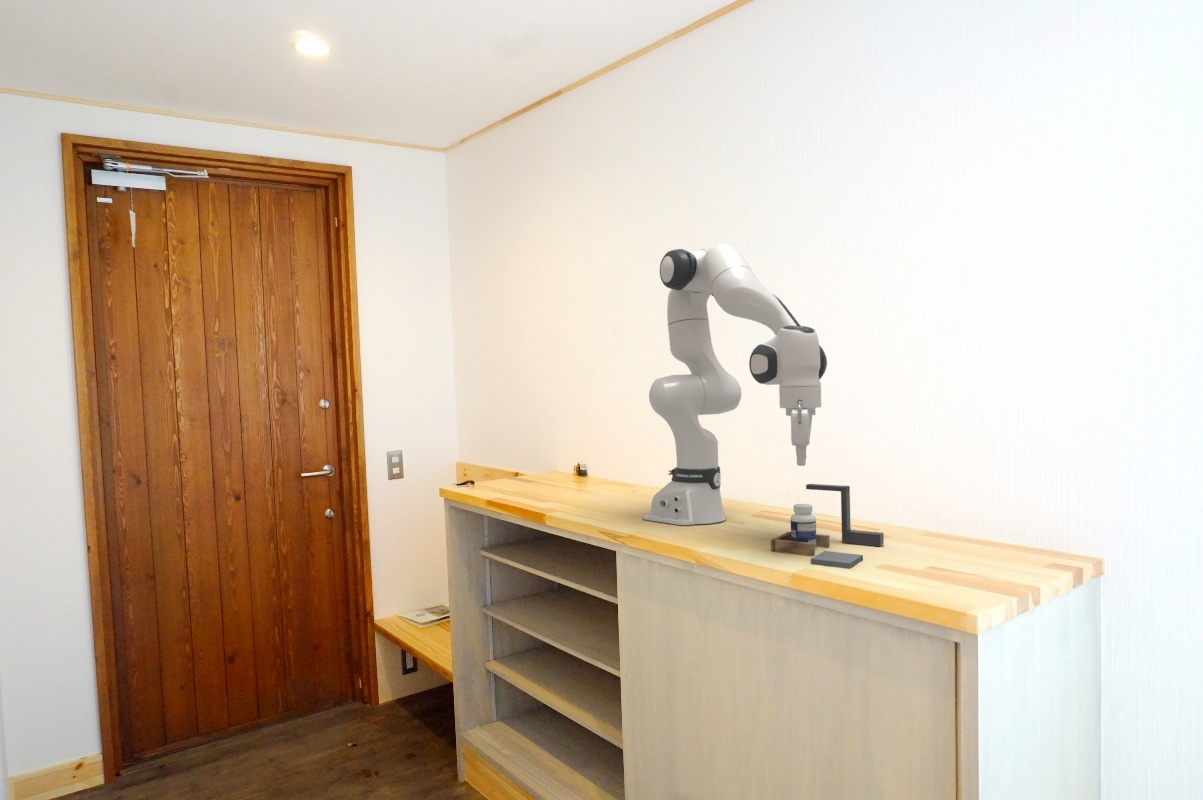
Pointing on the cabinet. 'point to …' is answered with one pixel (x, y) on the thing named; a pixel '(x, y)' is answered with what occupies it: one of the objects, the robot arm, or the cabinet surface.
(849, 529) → the gate
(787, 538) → the cradle
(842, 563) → the mat
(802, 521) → the pill bottle
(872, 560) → the cabinet surface
